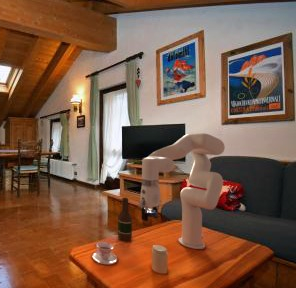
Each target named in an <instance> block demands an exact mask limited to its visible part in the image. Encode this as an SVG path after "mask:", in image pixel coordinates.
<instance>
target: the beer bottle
mask: <svg viewBox="0 0 296 288" xmlns="http://www.w3.org/2000/svg"><path fill="white" fill-rule="evenodd" d="M121 202H122V203H121V211H120V212H119V215H118V219H117V238H118V240H119V241H121V242H125V243H127V242H131V241H132V239H133V218H132V215H131V213H130V211H129V210H130V209H129V198H127V197H122V199H121Z"/></svg>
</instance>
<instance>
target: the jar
mask: <svg viewBox="0 0 296 288" xmlns="http://www.w3.org/2000/svg"><path fill="white" fill-rule="evenodd" d="M168 256H169V253H168V250H167V248H166V247H165V246H163V245H160V244H155V245H153V246H152V249H151V263H150V264H151V265H150V268H151V270H152V271H153V272H155V273H157V274H162V275H163V274H167V273H168V271H169V269H168V267H169V266H168V263H169V257H168Z"/></svg>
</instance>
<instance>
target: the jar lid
mask: <svg viewBox="0 0 296 288" xmlns="http://www.w3.org/2000/svg"><path fill="white" fill-rule="evenodd" d="M144 209H146V207H144ZM147 213H148V218H154V217H157V216H158V217H159V210H158V211H157V210H154V209H153V208H148V211H147Z"/></svg>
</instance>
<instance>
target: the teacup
mask: <svg viewBox="0 0 296 288" xmlns="http://www.w3.org/2000/svg"><path fill="white" fill-rule="evenodd" d="M114 248H115V246H114V244H112V243H111V242H107V241H99V242H97V243H96V244H94V249H95V250H96V251H95V252H94V253H92V257H91V258H92V260H93V261H94V262H96V263H97V264H101V265H114V264H116V263H117V261H118V256H117V255H116V254H114V253H113V252H112V251H113V249H114Z"/></svg>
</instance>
